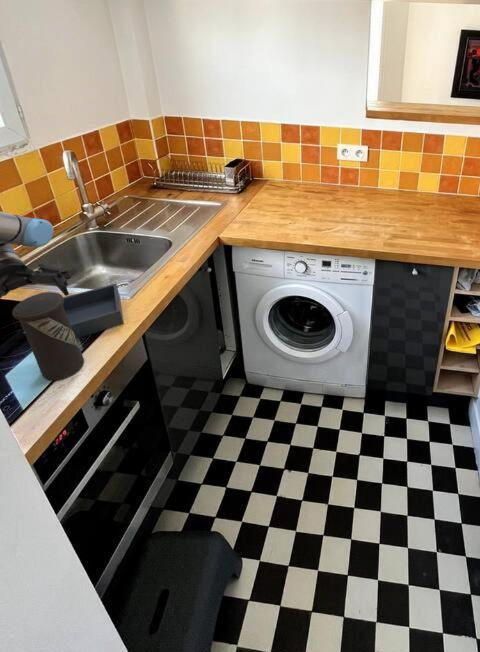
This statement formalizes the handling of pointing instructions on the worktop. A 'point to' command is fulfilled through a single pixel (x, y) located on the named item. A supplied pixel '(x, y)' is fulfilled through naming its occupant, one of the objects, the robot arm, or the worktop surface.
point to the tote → (94, 310)
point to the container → (50, 335)
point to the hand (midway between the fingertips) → (32, 304)
